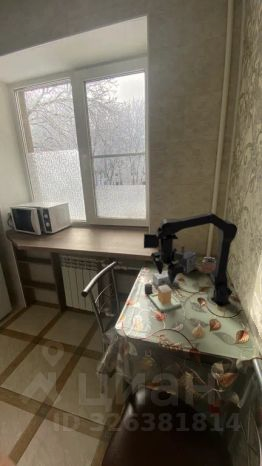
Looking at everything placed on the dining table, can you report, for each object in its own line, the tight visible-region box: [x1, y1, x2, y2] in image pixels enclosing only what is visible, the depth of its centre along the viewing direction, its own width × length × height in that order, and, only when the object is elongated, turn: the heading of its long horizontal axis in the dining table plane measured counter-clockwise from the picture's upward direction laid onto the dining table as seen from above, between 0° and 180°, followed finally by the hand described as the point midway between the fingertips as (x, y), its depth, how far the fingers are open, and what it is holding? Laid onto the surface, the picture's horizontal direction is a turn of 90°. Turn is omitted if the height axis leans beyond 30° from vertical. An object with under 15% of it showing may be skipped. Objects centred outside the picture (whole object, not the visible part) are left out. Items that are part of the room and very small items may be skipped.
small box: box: [177, 250, 197, 275], centre depth 128 cm, size 11×6×10 cm, turn 134°
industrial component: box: [180, 244, 185, 254], centre depth 138 cm, size 9×7×12 cm
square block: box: [157, 285, 172, 304], centre depth 100 cm, size 5×5×7 cm
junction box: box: [150, 270, 180, 290], centre depth 115 cm, size 7×13×6 cm, turn 112°
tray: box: [148, 292, 182, 313], centre depth 101 cm, size 12×11×1 cm
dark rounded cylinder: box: [144, 283, 153, 296], centre depth 108 cm, size 4×4×4 cm
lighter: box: [201, 256, 217, 275], centre depth 124 cm, size 8×3×10 cm, turn 77°
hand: (165, 278), depth 98 cm, fingers open, 9 cm apart
